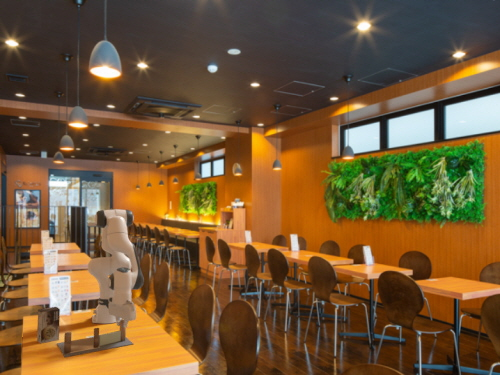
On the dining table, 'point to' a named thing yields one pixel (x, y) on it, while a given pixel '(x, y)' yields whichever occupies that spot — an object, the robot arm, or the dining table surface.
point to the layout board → (103, 347)
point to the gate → (113, 336)
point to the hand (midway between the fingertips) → (121, 326)
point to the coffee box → (48, 324)
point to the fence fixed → (80, 342)
